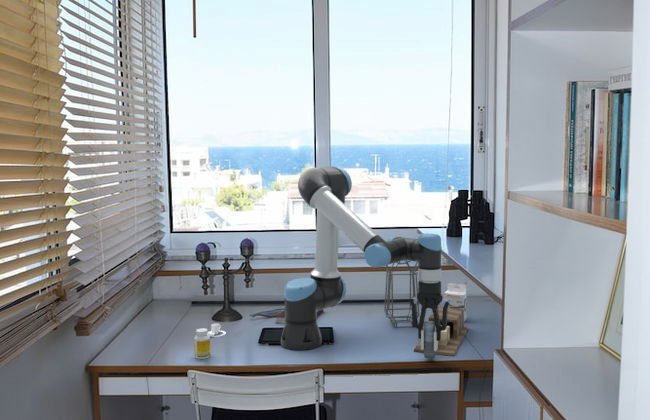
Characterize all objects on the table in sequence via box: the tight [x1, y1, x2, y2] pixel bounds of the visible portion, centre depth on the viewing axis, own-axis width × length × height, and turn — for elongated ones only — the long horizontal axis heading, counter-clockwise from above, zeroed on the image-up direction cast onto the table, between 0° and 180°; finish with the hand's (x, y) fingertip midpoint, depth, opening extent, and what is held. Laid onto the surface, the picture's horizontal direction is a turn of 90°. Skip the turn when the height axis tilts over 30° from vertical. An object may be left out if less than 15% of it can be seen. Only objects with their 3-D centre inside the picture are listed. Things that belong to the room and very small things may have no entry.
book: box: [275, 309, 325, 325], centre depth 257 cm, size 14×22×4 cm, turn 161°
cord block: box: [423, 320, 450, 360], centre depth 211 cm, size 22×6×12 cm, turn 158°
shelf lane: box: [413, 306, 469, 357], centre depth 224 cm, size 32×14×8 cm, turn 158°
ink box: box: [443, 282, 468, 322], centre depth 248 cm, size 8×5×15 cm, turn 61°
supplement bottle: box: [193, 327, 211, 360], centre depth 210 cm, size 5×5×10 cm
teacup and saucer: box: [207, 323, 227, 338], centre depth 236 cm, size 9×8×4 cm
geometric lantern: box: [384, 260, 421, 329], centre depth 242 cm, size 16×16×35 cm
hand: (429, 348), depth 203 cm, fingers closed on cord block, 3 cm apart
